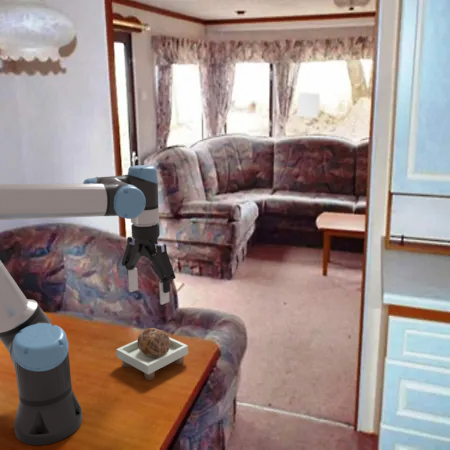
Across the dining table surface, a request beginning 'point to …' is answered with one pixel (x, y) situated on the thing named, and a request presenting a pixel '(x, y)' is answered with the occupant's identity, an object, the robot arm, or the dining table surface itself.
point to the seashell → (154, 342)
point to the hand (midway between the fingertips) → (148, 296)
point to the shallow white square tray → (149, 364)
